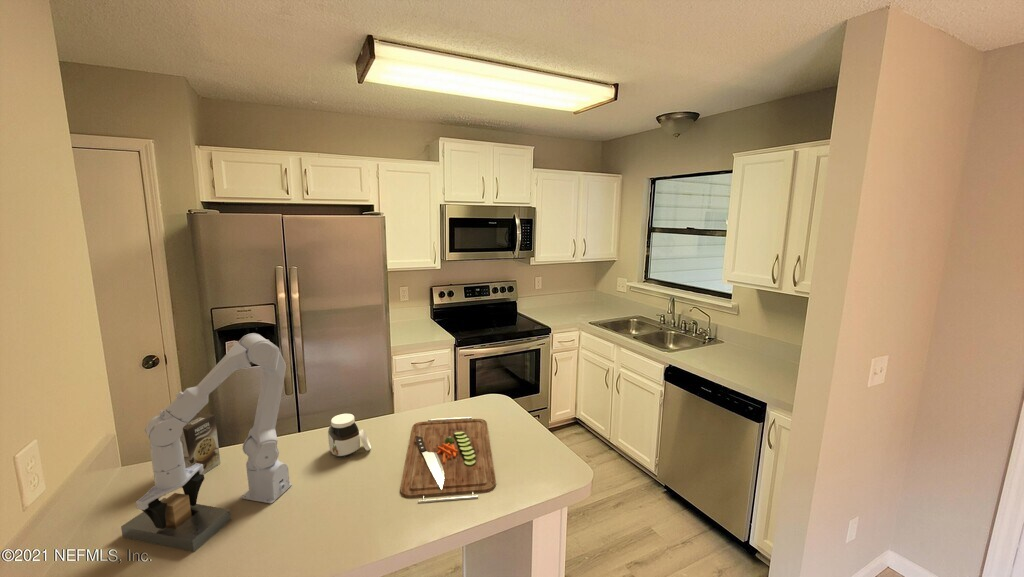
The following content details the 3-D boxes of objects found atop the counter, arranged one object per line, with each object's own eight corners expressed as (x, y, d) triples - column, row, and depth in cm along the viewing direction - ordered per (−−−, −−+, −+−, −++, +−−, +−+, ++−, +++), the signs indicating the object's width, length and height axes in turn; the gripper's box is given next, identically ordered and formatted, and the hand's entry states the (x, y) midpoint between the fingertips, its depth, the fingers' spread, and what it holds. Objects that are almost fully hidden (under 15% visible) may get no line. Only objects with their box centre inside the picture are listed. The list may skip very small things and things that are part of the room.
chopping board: (497, 498, 114) (498, 488, 113) (397, 506, 110) (397, 496, 109) (485, 418, 157) (485, 410, 157) (413, 422, 154) (413, 414, 153)
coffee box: (193, 481, 118) (186, 429, 115) (175, 478, 119) (167, 427, 116) (221, 463, 127) (215, 414, 124) (204, 460, 128) (197, 411, 125)
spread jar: (325, 451, 134) (323, 417, 132) (358, 437, 142) (356, 405, 140) (344, 466, 126) (342, 431, 124) (377, 450, 134) (375, 417, 132)
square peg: (192, 523, 102) (188, 495, 101) (177, 536, 98) (172, 506, 97) (179, 521, 103) (174, 492, 101) (163, 533, 99) (158, 504, 98)
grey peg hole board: (231, 520, 104) (230, 509, 103) (194, 551, 94) (192, 540, 93) (165, 508, 107) (163, 498, 107) (123, 537, 98) (121, 526, 97)
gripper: (184, 445, 105) (191, 493, 108) (121, 481, 91) (130, 535, 94) (207, 449, 104) (214, 497, 106) (147, 486, 90) (156, 540, 92)
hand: (176, 515), depth 100 cm, fingers open, 7 cm apart
